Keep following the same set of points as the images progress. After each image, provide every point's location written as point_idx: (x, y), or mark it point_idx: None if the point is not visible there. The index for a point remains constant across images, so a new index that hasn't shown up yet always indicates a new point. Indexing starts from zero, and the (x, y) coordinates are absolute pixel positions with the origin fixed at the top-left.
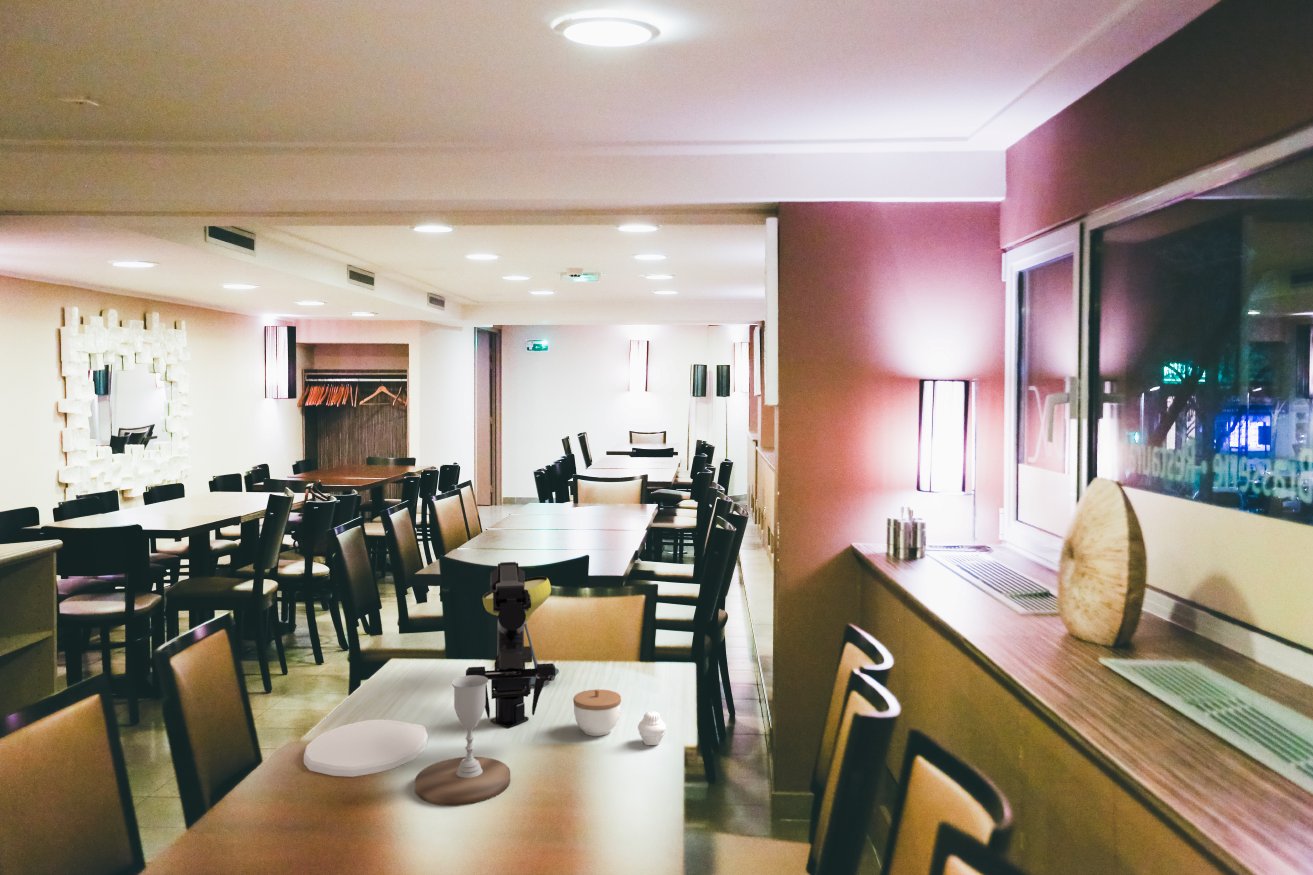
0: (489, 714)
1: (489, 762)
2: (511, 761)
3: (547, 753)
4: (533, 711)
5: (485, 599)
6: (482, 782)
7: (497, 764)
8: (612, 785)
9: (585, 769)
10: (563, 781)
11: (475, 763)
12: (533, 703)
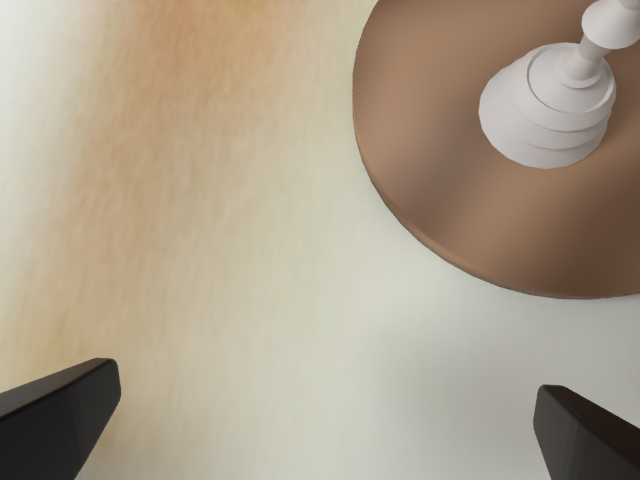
0: (551, 393)
1: (449, 200)
2: (338, 283)
3: (161, 340)
4: (90, 367)
5: None
6: (472, 11)
7: (409, 171)
8: (5, 7)
9: (50, 141)
10: (155, 58)
11: (531, 54)
12: (25, 402)
